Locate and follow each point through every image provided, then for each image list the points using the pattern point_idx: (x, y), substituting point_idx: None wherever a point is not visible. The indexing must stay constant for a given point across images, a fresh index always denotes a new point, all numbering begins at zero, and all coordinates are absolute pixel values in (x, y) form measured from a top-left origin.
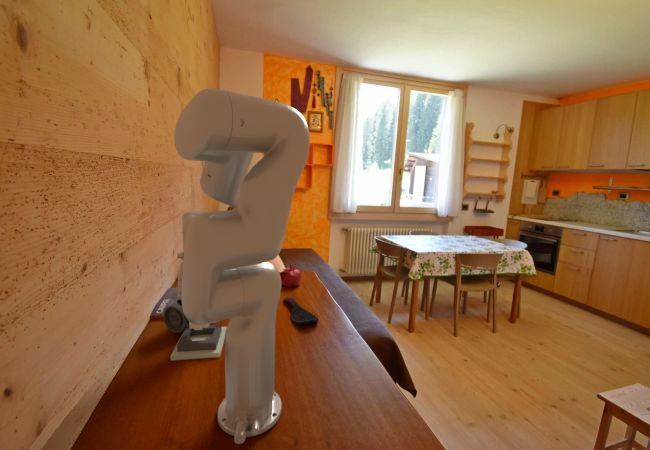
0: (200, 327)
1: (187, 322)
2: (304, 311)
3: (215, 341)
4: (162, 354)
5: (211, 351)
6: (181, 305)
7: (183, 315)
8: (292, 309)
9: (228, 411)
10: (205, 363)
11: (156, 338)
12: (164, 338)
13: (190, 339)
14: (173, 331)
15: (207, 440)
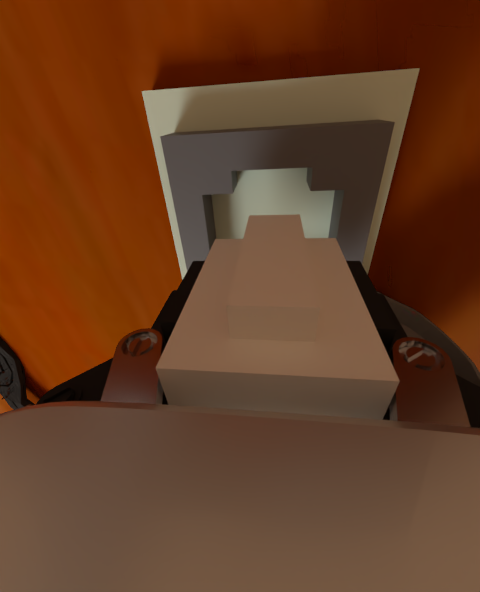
0: (258, 220)
1: (356, 262)
2: None
3: (167, 151)
4: (450, 144)
5: (190, 110)
6: (469, 387)
7: None
8: (20, 387)
9: None
10: (206, 20)
11: (470, 286)
12: (435, 282)
13: (317, 187)
14: (405, 306)
15: None
